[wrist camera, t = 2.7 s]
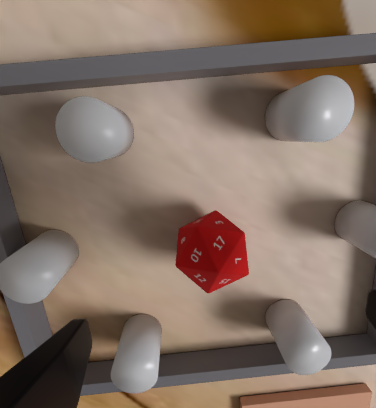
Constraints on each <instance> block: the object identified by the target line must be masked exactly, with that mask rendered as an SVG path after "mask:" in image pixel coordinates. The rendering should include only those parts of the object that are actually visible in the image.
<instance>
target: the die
mask: <svg viewBox="0 0 376 408" xmlns="http://www.w3.org/2000/svg"><path fill="white" fill-rule="evenodd" d="M176 267H177V268H178V269H179V270H181V271H182V272H183V273H184V274H185V275H187V276H188V277H189V278H190V279H191V280H192V281H194V282H195V283H196V284H197V285H198V286H199V287H201V288H202V289H203V290H204V291H205V292H206V293H211V292H213V291H215V290H217V289H219V288H221V287H223V286H226V285H228V284H230V283H232V282H234V281H236V280H238V279H240V278H243V277H245V276H247V275H248V274H249V270H248V261H247V251H246V242H245V233H244V232H243V231H242V230H240V229H239V228H238V227H237V226H235V225H234V224H233V223H232V222H230V221H229V220H228V219H227V218H225V217H224V216H223V215H222V214H220V213H219V212H218V211H213V212H211V213H209V214H207V215H205V216H203V217H201V218H199V219H197V220H195V221H193V222H191V223H189V224H187V225H185V226H183V227H181V228H179V233H178V244H177V255H176Z"/></svg>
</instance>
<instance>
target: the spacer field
mask: <svg viewBox="0 0 376 408" xmlns="http://www.w3.org/2000/svg"><path fill="white" fill-rule="evenodd" d="M368 63H376V33H370V34H358V35H346V36H334V37H322V38H310V39H298V40H286V41H275V42H263V43H251V44H239V45H227V46H215V47H203V48H191V49H179V50H167V51H155V52H144V53H132V54H120V55H108V56H96V57H84V58H72V59H60V60H48V61H36V62H24V63H13V64H1V65H0V95H7V94H19V93H31V92H42V91H54V90H65V89H77V88H89V87H100V86H112V85H124V84H135V83H147V82H158V81H170V80H182V79H193V78H205V77H217V76H228V75H240V74H251V73H263V72H275V71H286V70H298V69H310V68H321V67H333V66H344V65H356V64H368ZM353 111H354V97H353V93H352V91H351V89H350V87H349V86H348V84H347V83H346V82H345V81H344V80H342V79H341V78H338V77H336V76H331V75H324V76H319V77H316V78H314V79H312V80H309V81H307V82H305V83H303V84H300V85H298V86H296V87H293V88H291V89H289V90H286V91H284V92H282V93H280V94H278V95H277V96H275V97H274V98H273V99H272V101H271V102H270V103H269V105H268V107H267V110H266V114H265V123H266V127H267V129H268V131H269V133H270V134H271V135H272V136H273V137H274V138H276V139H278V140H281V141H299V142H324V141H328V140H331V139H333V138H335V137H336V136H338V135H339V134H340V133H341V132H342V131H343V130H344V129H345V128H346V127H347V125H348V124H349V122H350V120H351V118H352V115H353ZM55 130H56V135H57V138H58V141H59V143H60V144H61V146H62V147H63V149H64V150H65V151H66V152H67V153H68V154H69V155H70V156H72V157H73V158H75V159H77V160H79V161H82V162H87V163H95V162H100V161H103V160H106V159H110V158H113V157H116V156H120V155H122V154H124V153H125V152H126V151H127V150H128V149H129V148H130V146H131V145H132V142H133V139H134V129H133V125H132V123H131V121H130V119H129V118H128V116H127V115H126V114H125V113H124V112H122V111H121V110H119V109H117V108H115V107H113V106H111V105H109V104H107V103H105V102H103V101H101V100H98V99H96V98H93V97H87V96H81V97H76V98H73V99H71V100H69V101H68V102H66V103H65V104H64V105H63V106H62V107H61V109H60V110H59V112H58V114H57V117H56V123H55ZM334 227H335V231H336V233H337V234H338V235H339V236H340V237H341V238H343V239H344V240H346V241H347V242H349V243H351V244H352V245H354V246H356V247H357V248H359V249H361V250H362V251H364V252H365V253H367V254H369V255H370V256H372V257H374V258H375V259H376V205H373V204H371V203H368V202H365V201H354V202H351V203H348V204H347V205H345V206H344V207H343V208H341V210H340V211H339V212H338V214H337V215H336V218H335V222H334ZM78 254H79V249H78V245H77V243H76V241H75V240H74V239H73V238H72V237H71V236H70V235H69V234H67V233H65V232H63V231H60V230H49V231H46V232H43V233H42V234H40V235H39V236H38V237H36V238H35V239H33V240H32V241H30V242H29V243H28V244H25V240H24V237H23V233H22V230H21V226H20V223H19V219H18V216H17V213H16V209H15V206H14V202H13V199H12V195H11V192H10V189H9V185H8V182H7V178H6V175H5V171H4V168H3V165H2V161H1V158H0V290H1V292H2V293H3V296H4V299H5V302H6V305H7V308H8V310H9V313H10V316H11V319H12V322H13V325H14V328H15V331H16V334H17V337H18V340H19V343H20V346H21V349H22V352H23V355H24V358H25V357H26V356H27V355H29V354H30V353H31V352H33V351H34V350H35V349H36V348H38V347H39V346H40V345H41V344H43V343H44V342H45V341H46V340H48V339H49V338H50V337H51V336H52V333H51V329H50V326H49V323H48V319H47V316H46V312H45V309H44V305H43V302H42V300H43V299H44V298H46V297H47V295H48V294H49V293H50V292H51V291H52V289H53V288H54V287H55V286H56V285H57V283H58V282H59V281H60V280H61V279H62V277H63V276H64V275H65V274H66V273H67V271H68V270H69V269H70V268H71V266H72V265H73V264H74V263H75V262H76V260H77V258H78ZM373 289H376V269H375V277H374V284H373ZM265 320H266V323H267V325H268V327H269V329H270V332H271V334H272V336H273V338H274V340H275V342H276V343H272V344H262V345H253V346H243V347H233V348H224V349H214V350H205V351H195V352H186V353H176V354H167V355H160V346H161V334H162V328H161V324H160V323H159V321H158V320H157V319H156V318H154V317H152V316H150V315H146V314H139V315H135V316H132V317H131V318H129V319H128V320H127V321H126V323H125V325H124V328H123V331H122V335H121V338H120V341H119V345H118V348H117V352H116V355H115V359H114V360H109V361H100V362H90V363H88V365H87V369H86V374H85V378H84V382H83V386H82V390H81V394H80V396H83V395H92V394H102V393H111V392H121V391H125V392H128V393H141V392H144V391H147V390H149V389H150V388H158V387H167V386H177V385H186V384H195V383H205V382H214V381H223V380H233V379H242V378H252V377H261V376H270V375H280V374H289V373H296V374H299V375H310V374H314V373H316V372H318V371H320V370H326V369H336V368H345V367H354V366H364V365H373V364H376V330H375V328H374V327H373V326H372V324H371V323H370V321H369V320H368V328H367V334H358V335H348V336H339V337H329V338H323V336H322V335H321V334H320V332H319V331H318V330H317V328H316V327H315V325H314V324H313V323H312V321H311V320H310V319H309V317H308V316H307V315H306V313H305V312H304V310H303V309H302V308H301V306H300V305H299V304H298V303H297V302H295V301H293V300H287V299H286V300H280V301H277V302H275V303H274V304H272V305H271V306H270V307H269V308H268V310H267V312H266V315H265Z"/></svg>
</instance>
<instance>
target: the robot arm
mask: <svg viewBox="0 0 376 408" xmlns="http://www.w3.org/2000/svg"><path fill="white" fill-rule="evenodd" d="M366 315H367V318H368V320H369V321H370V323H371V324H372V326H373V327H374V328H375V330H376V289H372V290H370V291H369V292H368V296H367V304H366ZM91 349H92V337H91V333H90V329H89V324H88V321H87V320H86V319H75V320H72V321H70V322H69V323H68V324H67V325H65V326H64V327H63V328H61V329H60V330H59V331H58V332H56V333H55V334H54V335H53V336H51V337H50V338H49V339H48V340H46V341H45V342H44V343H43V344H41V345H40V346H39V347H38V348H36V349H35V350H34V351H33V352H31V353H30V354H29V355H27V356H26V357H25V358H24V359H22V360H21V361H20V362H19V363H17V364H16V365H15V366H14V367H12V368H11V369H10V370H9V371H7V372H6V373H5V374H4V375H2V376H1V377H0V408H77V405H78V402H79V398H80V394H81V390H82V386H83V382H84V378H85V374H86V369H87V365H88V361H89V357H90V353H91Z"/></svg>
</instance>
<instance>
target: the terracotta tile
mask: <svg viewBox="0 0 376 408" xmlns="http://www.w3.org/2000/svg"><path fill="white" fill-rule="evenodd" d="M371 394H372V391H371V390H370V389H369V388H368V386H367V385H366V384H365V383H364V384H355V385H345V386H336V387H327V388H318V389H308V390H299V391H290V392H281V393H271V394H262V395H253V396H244V397H240V408H369V407H370V400H371Z"/></svg>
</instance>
